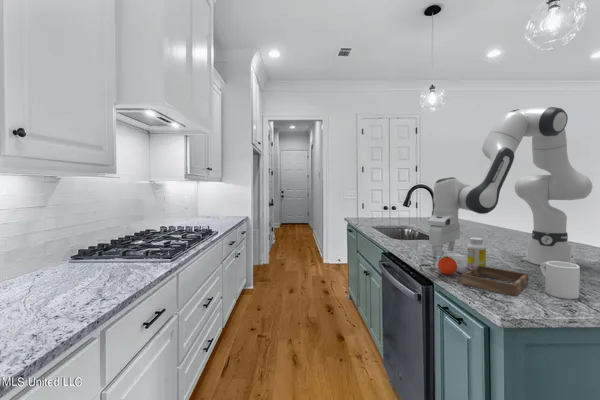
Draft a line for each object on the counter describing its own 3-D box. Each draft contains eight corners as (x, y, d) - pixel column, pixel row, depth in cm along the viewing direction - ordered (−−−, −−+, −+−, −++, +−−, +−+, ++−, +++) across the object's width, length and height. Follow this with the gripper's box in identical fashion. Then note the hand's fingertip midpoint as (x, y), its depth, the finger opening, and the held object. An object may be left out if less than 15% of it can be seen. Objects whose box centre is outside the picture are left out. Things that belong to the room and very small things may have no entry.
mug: (551, 285, 104) (551, 257, 103) (586, 298, 92) (587, 267, 91) (528, 286, 103) (529, 258, 103) (561, 299, 91) (562, 268, 91)
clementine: (431, 272, 122) (431, 254, 121) (444, 270, 124) (445, 253, 124) (447, 277, 114) (447, 259, 114) (461, 275, 116) (461, 257, 116)
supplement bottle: (485, 268, 126) (486, 237, 125) (485, 272, 120) (486, 240, 120) (467, 266, 130) (467, 236, 129) (466, 269, 124) (466, 239, 123)
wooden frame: (477, 274, 118) (478, 265, 118) (528, 283, 106) (528, 274, 106) (461, 284, 106) (461, 274, 106) (515, 296, 95) (515, 285, 94)
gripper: (448, 215, 127) (448, 247, 128) (425, 220, 114) (425, 256, 115) (464, 216, 123) (464, 249, 124) (442, 222, 109) (442, 259, 110)
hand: (445, 253), depth 119 cm, fingers open, 8 cm apart
